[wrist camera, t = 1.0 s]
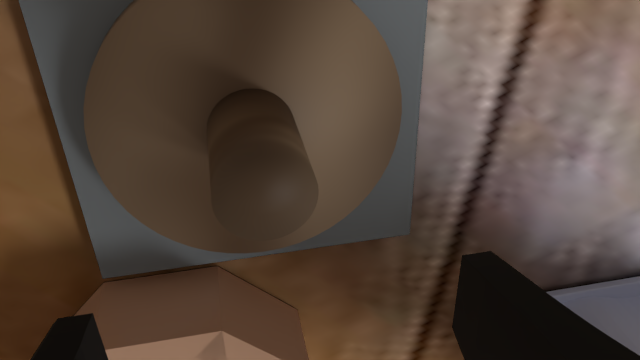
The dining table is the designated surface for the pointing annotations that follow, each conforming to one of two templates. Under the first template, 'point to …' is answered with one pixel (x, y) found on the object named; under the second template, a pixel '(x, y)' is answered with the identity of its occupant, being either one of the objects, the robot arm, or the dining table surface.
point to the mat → (142, 242)
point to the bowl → (194, 319)
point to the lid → (242, 118)
